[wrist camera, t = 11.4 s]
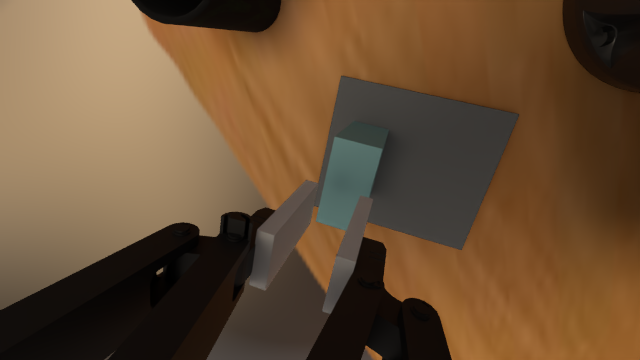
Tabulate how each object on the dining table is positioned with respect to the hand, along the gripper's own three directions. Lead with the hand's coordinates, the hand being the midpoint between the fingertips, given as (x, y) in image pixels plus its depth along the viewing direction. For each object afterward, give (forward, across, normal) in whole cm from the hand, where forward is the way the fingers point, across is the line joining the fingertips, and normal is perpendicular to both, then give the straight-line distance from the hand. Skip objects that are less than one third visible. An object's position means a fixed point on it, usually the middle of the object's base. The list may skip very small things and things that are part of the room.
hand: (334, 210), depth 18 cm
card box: (+14, 0, 0) cm, 14 cm away
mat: (+15, +4, 0) cm, 15 cm away
